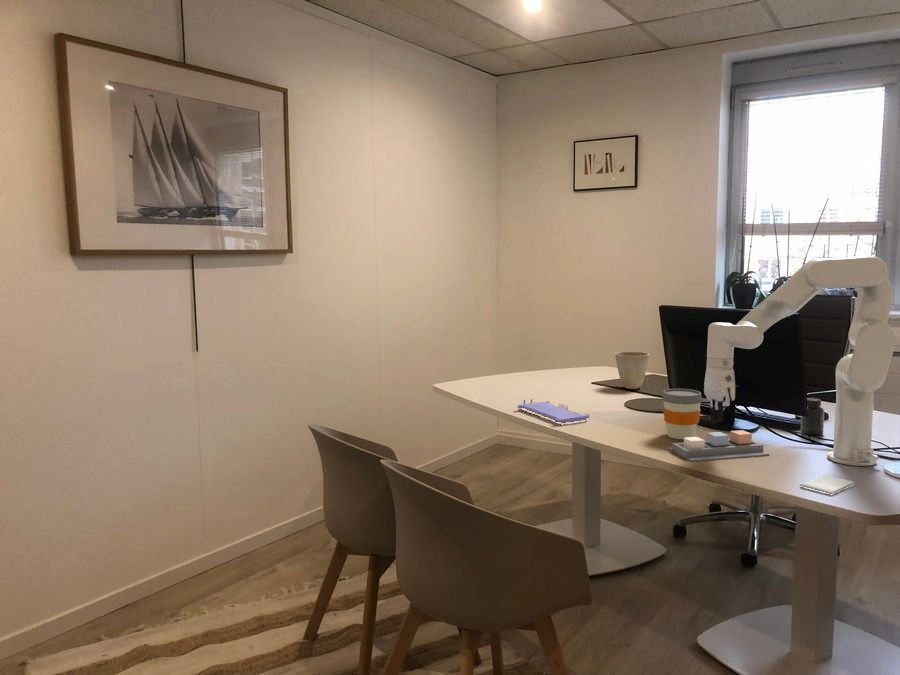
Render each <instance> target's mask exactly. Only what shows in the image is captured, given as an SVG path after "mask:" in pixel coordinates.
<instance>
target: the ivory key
mask: <svg viewBox="0 0 900 675" xmlns="http://www.w3.org/2000/svg"><path fill="white" fill-rule="evenodd" d="M705 441H706V440H704V438H703V439H702V438H700V437H698V436H695V437H685V438H684V439H683V443H684V447H685V448H686V449H698V448H704V443H705Z"/></svg>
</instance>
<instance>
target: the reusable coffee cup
mask: <svg viewBox="0 0 900 675" xmlns="http://www.w3.org/2000/svg"><path fill="white" fill-rule="evenodd" d="M662 401H663V408H662V411H663V420H664V422H665V426H666V435H668V436H667V437H668V438H671V439H676V440H684V438H685V437H696V433H697V427H698V426H697V425H698V424H699V422H700V417H701V410H702V409H701V403H702V393H701V392H700V391H699V390H695V389H691V388H690V389H689V388H669V389H668V388H667V389H665V390H663V393H662Z"/></svg>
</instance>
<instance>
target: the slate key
mask: <svg viewBox="0 0 900 675" xmlns="http://www.w3.org/2000/svg"><path fill="white" fill-rule="evenodd" d="M706 436H707V437H706V438H707V439H706V441H707V442H708V443H710V444H712V445H714V446H721V445H728V439H729V435H728V434H726V433H723V432H721V431H713V432H707V434H706Z"/></svg>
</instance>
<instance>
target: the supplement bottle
mask: <svg viewBox="0 0 900 675" xmlns="http://www.w3.org/2000/svg"><path fill="white" fill-rule="evenodd" d="M806 398H807V407H808V417H802V416H801V415H800V433H801V434H802V435H803V434H804V436H807V435H809V436H808V437H821V436H823V435H824V431H825V430H824V425H825V423H824V422H825V410H824V408H823V407H822V400H821V398H815V397H806Z"/></svg>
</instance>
